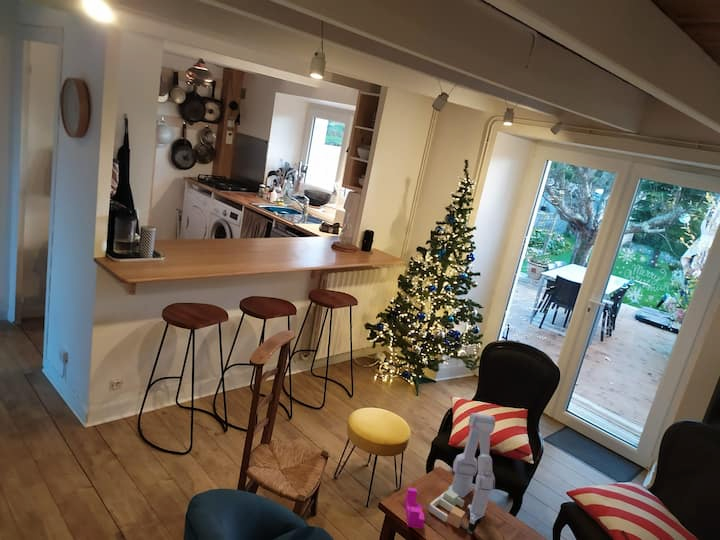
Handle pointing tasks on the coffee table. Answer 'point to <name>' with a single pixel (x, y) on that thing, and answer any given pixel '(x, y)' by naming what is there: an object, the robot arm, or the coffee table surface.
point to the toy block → (413, 510)
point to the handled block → (457, 518)
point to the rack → (444, 504)
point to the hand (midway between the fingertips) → (472, 528)
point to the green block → (451, 497)
